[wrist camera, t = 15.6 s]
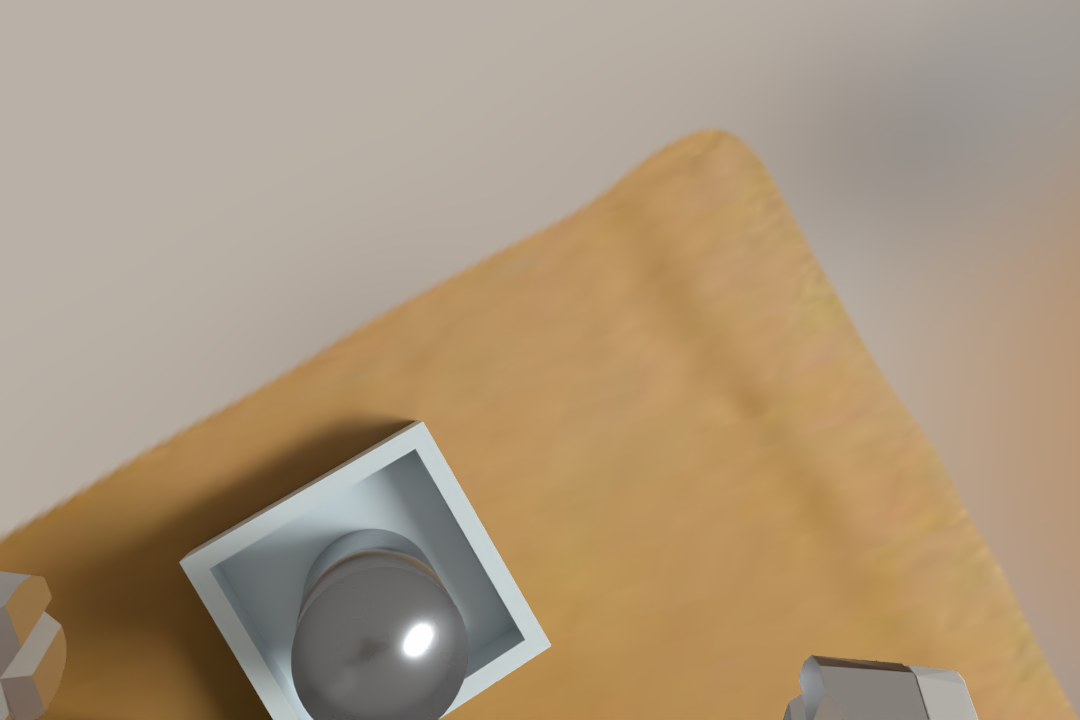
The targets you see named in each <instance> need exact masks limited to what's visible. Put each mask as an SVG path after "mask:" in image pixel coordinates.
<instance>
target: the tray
mask: <svg viewBox="0 0 1080 720" xmlns="http://www.w3.org/2000/svg"><path fill="white" fill-rule="evenodd" d="M364 529H382V530H388V531H392V532H395V533H398V534H400V535H402V536H404V537H406V538H407V539H409V540H411V541H412V542H413V543H414V544H416V545H417V546H418V547H419V548H420V549H421V550H422V552H423V553H424V554H425V556H426V557H427V558H428V560H429V562H430V563H431V565H432V567H433V568H434V570H435V572H436V573H437V575H438V577H439V578H440V580H441V582H442V583H443V585H444V587H445V588H446V590H447V591H448V593H449V595H450V596H451V598H452V600H453V601H454V603H455V605H456V606H457V608H458V610H459V612H460V614H461V616H462V619H463V622H464V624H465V627H466V632H467V637H468V647H469V654H468V665H467V670H466V674H465V678H464V681H463V684H462V686H461V688H460V690H459V693H458V695H457V696H456V698H455V700H454V701H453V703H452V705H451V706H450V707H449V708H448V710H447V711H446V712H445V713H444V714H443V715H442V716H441V717H440V718H442V717H443V716H445V715H446V714H448V713H449V712H451V711H453V710H454V709H456V708H457V707H459V706H460V705H462V704H463V703H465V702H466V701H468V700H469V699H471V698H472V697H474V696H475V695H477V694H478V693H480V692H482V691H483V690H485V689H486V688H488V687H489V686H491V685H492V684H494V683H495V682H497V681H498V680H500V679H501V678H503V677H504V676H506V675H507V674H509V673H511V672H512V671H514V670H515V669H517V668H518V667H520V666H521V665H523V664H524V663H526V662H527V661H529V660H530V659H532V658H533V657H535V656H536V655H538V654H540V653H541V652H543V651H544V650H546V649H547V648H549V647H550V646H551V644H550V642H549V641H548V639H547V637H546V635H545V634H544V632H543V630H542V628H541V627H540V625H539V623H538V621H537V620H536V618H535V616H534V614H533V613H532V611H531V609H530V607H529V606H528V604H527V602H526V600H525V599H524V597H523V595H522V593H521V592H520V590H519V588H518V586H517V585H516V583H515V581H514V579H513V578H512V576H511V574H510V572H509V571H508V569H507V567H506V565H505V564H504V562H503V560H502V558H501V557H500V555H499V553H498V551H497V550H496V548H495V546H494V544H493V543H492V541H491V539H490V537H489V536H488V534H487V532H486V530H485V529H484V527H483V525H482V523H481V522H480V520H479V518H478V517H477V515H476V513H475V511H474V510H473V508H472V506H471V504H470V503H469V501H468V499H467V497H466V496H465V494H464V492H463V490H462V489H461V487H460V485H459V483H458V482H457V480H456V478H455V476H454V475H453V473H452V471H451V469H450V468H449V466H448V464H447V462H446V461H445V459H444V457H443V455H442V454H441V452H440V450H439V448H438V447H437V445H436V443H435V441H434V440H433V438H432V436H431V434H430V433H429V431H428V429H427V427H426V426H425V424H424V422H423V421H418V420H416V421H415V422H413V423H411V424H410V425H408V426H406V427H404V428H403V429H401V430H399V431H397V432H396V433H394V434H392V435H390V436H389V437H387V438H385V439H383V440H382V441H380V442H378V443H377V444H375V445H373V446H371V447H370V448H368V449H366V450H364V451H363V452H361V453H359V454H357V455H356V456H354V457H352V458H350V459H349V460H347V461H345V462H344V463H342V464H340V465H338V466H337V467H335V468H333V469H331V470H330V471H328V472H326V473H324V474H323V475H321V476H319V477H317V478H316V479H314V480H312V481H311V482H309V483H307V484H305V485H304V486H302V487H300V488H298V489H297V490H295V491H293V492H291V493H290V494H288V495H286V496H285V497H283V498H281V499H279V500H278V501H276V502H274V503H272V504H271V505H269V506H267V507H265V508H264V509H262V510H260V511H258V512H257V513H255V514H253V515H252V516H250V517H248V518H246V519H245V520H243V521H241V522H239V523H238V524H236V525H234V526H232V527H231V528H229V529H227V530H225V531H224V532H222V533H220V534H219V535H217V536H215V537H213V538H212V539H210V540H208V541H206V542H205V543H203V544H201V545H199V546H198V547H196V548H194V549H192V550H191V551H190V552H189V553H188V554H187V555H186V556H185V557H184V558H183V559H182V560H181V561H180V562H179V563H180V565H181V566H182V568H183V570H184V571H185V573H186V575H187V576H188V578H189V580H190V581H191V583H192V585H193V586H194V588H195V590H196V591H197V593H198V595H199V596H200V598H201V600H202V602H203V603H204V605H205V607H206V608H207V610H208V612H209V613H210V615H211V617H212V618H213V620H214V622H215V623H216V625H217V627H218V628H219V630H220V632H221V633H222V635H223V637H224V638H225V640H226V642H227V643H228V645H229V647H230V648H231V650H232V652H233V653H234V655H235V657H236V658H237V660H238V662H239V663H240V665H241V667H242V668H243V670H244V672H245V673H246V675H247V677H248V678H249V680H250V682H251V684H252V685H253V687H254V689H255V690H256V692H257V694H258V695H259V697H260V699H261V700H262V702H263V704H264V705H265V707H266V709H267V710H268V712H269V714H270V715H271V717H272V719H273V720H313V719H312V718H311V716H310V715H309V714H308V712H307V711H306V710H305V708H304V707H303V705H302V703H301V701H300V699H299V697H298V695H297V692H296V690H295V687H294V683H293V678H292V672H291V651H292V645H293V640H294V635H295V630H296V625H297V620H298V615H299V610H300V605H301V601H302V596H303V591H304V586H305V581H306V578H307V575H308V572H309V570H310V568H311V566H312V564H313V563H314V561H315V560H316V558H317V557H318V556H319V555H320V553H321V552H322V551H323V550H324V549H325V548H326V547H327V546H328V545H329V544H331V543H332V542H334V541H335V540H337V539H338V538H340V537H342V536H344V535H346V534H349V533H351V532H355V531H359V530H364ZM440 718H439V719H440ZM439 719H438V720H439Z"/></svg>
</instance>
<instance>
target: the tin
mask: <svg viewBox="0 0 1080 720" xmlns="http://www.w3.org/2000/svg"><path fill="white" fill-rule="evenodd" d="M468 654H469V647H468V637H467V632H466V627H465V624H464V622H463V619H462V616H461V614H460V612H459V610H458V608H457V606H456V605H455V603H454V601H453V600H452V598H451V596H450V595H449V593H448V591H447V590H446V588H445V587H444V585H443V583H442V582H441V580H440V578H439V577H438V575H437V573H436V572H435V570H434V568H433V567H432V565H431V563H430V562H429V560H428V558H427V557H426V556H425V554H424V553H423V552H422V550H421V549H420V548H419V547H418V546H417V545H416V544H414V543H413V542H412V541H411V540H409V539H407V538H406V537H404V536H402V535H400V534H398V533H395V532H392V531H388V530H382V529H364V530H359V531H355V532H351V533H349V534H346V535H344V536H342V537H340V538H338V539H337V540H335V541H334V542H332V543H331V544H329V545H328V546H327V547H326V548H325V549H324V550H323V551H322V552H321V553H320V555H319V556H318V557H317V558H316V560H315V561H314V563H313V564H312V566H311V568H310V570H309V572H308V575H307V578H306V581H305V586H304V591H303V596H302V601H301V605H300V610H299V615H298V620H297V625H296V630H295V635H294V640H293V645H292V651H291V672H292V678H293V683H294V687H295V690H296V692H297V695H298V697H299V699H300V701H301V703H302V705H303V707H304V708H305V710H306V711H307V712H308V714H309V715H310V716H311V718H312V719H313V720H438V719H439V718H440V717H441V716H442V715H443V714H444V713H445V712H446V711H447V710H448V708H449V707H450V706H451V705H452V703H453V701H454V700H455V698H456V696H457V695H458V693H459V690H460V688H461V686H462V684H463V681H464V678H465V674H466V670H467V665H468Z"/></svg>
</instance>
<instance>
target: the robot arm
mask: <svg viewBox="0 0 1080 720" xmlns="http://www.w3.org/2000/svg"><path fill="white" fill-rule="evenodd" d="M51 599H52V595H51V593H50V591H49V588H48V586H47V583H46V581H45V578H44V577H42V576H34V575H26V574H19V573H11V572H3V571H0V720H35V719H37V718H38V717H40V716H41V715H43V714H44V713H45V712H46V711H47V709H48V707H49V705H50V703H51V702H52V700H53V698H54V696H55V694H56V692H57V690H58V688H59V686H60V682H61V678H62V675H63V671H64V667H65V664H66V660H67V659H66V638H65V635H64V631H63V628H62V625H61V624H60V623H58V622H57V621H56V620H55V619H53V618H52V617H51V616H50V615H49V614H47V613H46V612H45V611H44V610H45V609H46V607H47V605H48V604H49V602H50V601H51ZM799 680H800V686H801V692H802V695H800V696H798V697H797V698H795V699H793V700H791V701H790V702H789V703H788V706H787V709H786V713H785V716H784V719H783V720H978V717H977V714H976V711H975V709H974V706H973V703H972V700H971V698H970V695H969V692H968V689H967V687H966V684H965V681H964V679H963V678H962V677H961V676H960V675H959V673H958V672H957V671H956V670H950V669H941V668H930V667H920V666H910V665H905V666H904V665H903V664H902V663H891V662H880V661H869V660H858V659H847V658H836V657H825V656H814V655H811V656H810V657H809V658H808V659H807V660H806V661H805V662H804V665H803V667H802V670H801V672H800V674H799Z"/></svg>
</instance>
